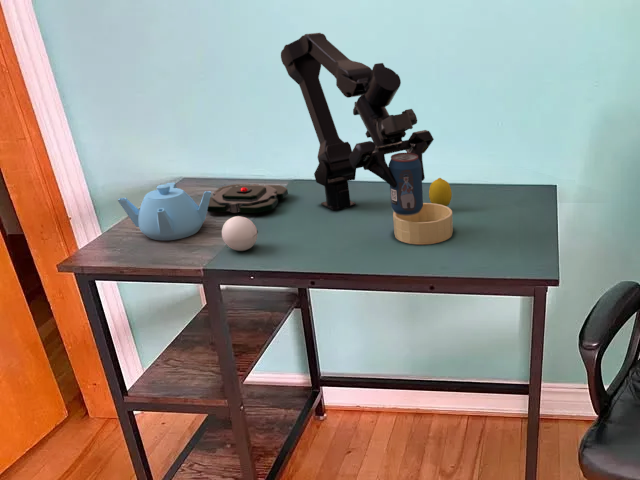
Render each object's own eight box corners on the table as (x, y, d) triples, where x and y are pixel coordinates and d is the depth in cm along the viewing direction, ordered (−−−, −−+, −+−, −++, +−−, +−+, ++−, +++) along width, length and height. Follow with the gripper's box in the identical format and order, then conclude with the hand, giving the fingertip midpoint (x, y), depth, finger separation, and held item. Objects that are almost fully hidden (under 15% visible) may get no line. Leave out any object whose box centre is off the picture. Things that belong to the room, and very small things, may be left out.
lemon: (453, 206, 179) (452, 174, 175) (450, 214, 174) (449, 181, 170) (431, 205, 179) (430, 174, 175) (427, 213, 175) (426, 181, 170)
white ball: (255, 256, 152) (249, 223, 149) (220, 256, 152) (213, 223, 149) (267, 238, 161) (262, 207, 157) (235, 238, 161) (228, 207, 157)
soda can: (410, 203, 160) (407, 149, 154) (429, 211, 156) (427, 156, 150) (385, 210, 157) (381, 155, 150) (404, 219, 152) (400, 163, 146)
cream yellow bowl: (383, 233, 163) (381, 212, 161) (428, 219, 171) (427, 199, 168) (418, 249, 155) (416, 227, 152) (464, 234, 162) (464, 213, 160)
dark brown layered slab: (226, 193, 189) (223, 175, 187) (292, 194, 188) (290, 177, 185) (197, 216, 174) (193, 197, 172) (269, 218, 172) (266, 199, 170)
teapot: (223, 227, 167) (214, 182, 162) (168, 248, 156) (156, 200, 151) (180, 216, 174) (170, 172, 169) (125, 235, 163) (112, 189, 158)
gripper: (351, 103, 142) (385, 171, 140) (426, 90, 152) (460, 154, 150) (334, 135, 151) (367, 199, 149) (407, 122, 161) (438, 182, 160)
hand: (409, 183), depth 152 cm, fingers closed on soda can, 7 cm apart
